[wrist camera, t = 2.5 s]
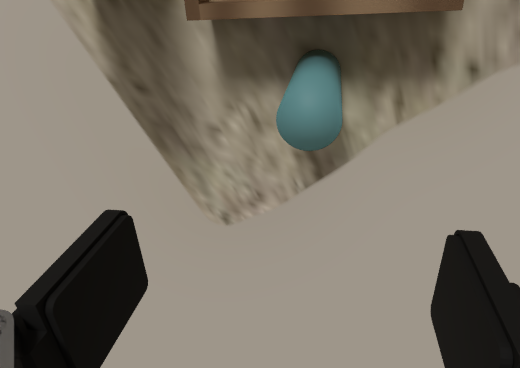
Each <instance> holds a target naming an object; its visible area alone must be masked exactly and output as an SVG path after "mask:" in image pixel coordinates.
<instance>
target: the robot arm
mask: <svg viewBox="0 0 520 368" xmlns="http://www.w3.org/2000/svg"><path fill="white" fill-rule="evenodd" d="M147 286H148V278H147V274H146V270H145V266H144V262H143V258H142V254H141V250H140V246H139V242H138V239H137V234H136V230H135V226H134V222H133V219H132V217H131V216H129V215H128V214H127V212H125V211H121V210H106V211H104V212H103V213H102V214H101V215H100V216H99V217H98V218H97V219H96V220H95V221H94V222H93V223H92V224H91V225H90V226H89V227H88V229H87V230H86V231H85V232H84V233H83V234H82V235H81V236H80V237H79V238H78V239H77V240H76V241H75V242H74V243H73V244H72V245H71V246H70V247H69V248H68V249H67V250H66V251H65V252H64V253H63V254H62V255H61V256H60V258H58V259H57V260H56V261H55V262H54V263H53V264H52V265H51V267H49V268H48V270H47V271H46V272H45V273H44V274H43V275H42V276H41V277H40V278H39V279H38V280H37V281H36V282H35V283H34V284H33V285H32V286H31V287H30V288H29V289H28V290H27V291H26V292H25V293H24V294H23V295H22V296H21V297H20V298H19V299H18V300H17V301H16V302H15V305H16V307H17V309H16V310H15V311H14V312H13V313H12V314H11V313H10V312H8V311H5V310H0V368H100V367H101V365H102V364H103V362H104V360H105V359H106V357H107V355H108V353H109V352H110V350H111V349H112V347H113V345H114V343H115V342H116V340H117V339H118V337H119V335H120V334H121V332H122V330H123V329H124V327H125V325H126V323H127V322H128V320H129V318H130V317H131V315H132V313H133V312H134V310H135V308H136V307H137V305H138V303H139V302H140V300H141V298H142V297H143V295H144V293H145V292H146V290H147ZM431 318H432V322H433V326H434V330H435V333H436V337H437V340H438V344H439V348H440V352H441V355H442V359H443V362H444V366H445V368H520V287H519V286H518V285H517V284H515V283H509V281H508V279H507V277H506V275H505V274H504V272H503V270H502V268H501V267H500V265H499V263H498V261H497V259H496V258H495V256H494V254H493V252H492V250H491V249H490V247H489V245H488V244H487V241H486V240H485V238H484V236H483V234H482V233H481V232H479V231H464V230H457V231H456V232H455V233H454V235H448V236H447V239H446V243H445V248H444V252H443V256H442V260H441V265H440V269H439V273H438V278H437V283H436V286H435V291H434V295H433V300H432V304H431Z"/></svg>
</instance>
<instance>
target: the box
mask: <svg viewBox="0 0 520 368" xmlns="http://www.w3.org/2000/svg"><path fill="white" fill-rule="evenodd" d="M184 1H185V9H186V16H187V21H188V20H214V19H240V18H267V17H293V16H320V15H346V14H372V13H399V12H425V11H451V10H462V8H463V3H464V0H184Z"/></svg>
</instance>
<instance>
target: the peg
mask: <svg viewBox="0 0 520 368" xmlns="http://www.w3.org/2000/svg"><path fill="white" fill-rule="evenodd" d="M276 122H277V128H278V131H279V133H280V135H281V136H282V138H283V139H284V140H285V141H286V142H287V143H288V144H289V145H291V146H293V147H295V148H297V149H300V150H304V151H314V150H319V149H322V148H324V147H326V146H328V145H329V144H331V143H332V142H333V141H334V140H335V139H336V137H337V136H338V134H339V132H340V130H341V126H342V96H341V70H340V65H339V62H338V60H337V59H336V58H335V56H334V55H332V54H331V53H329V52H327V51H324V50H313V51H310V52H308V53H306V54H305V55H304V56H303V57H302V58H301V59H300V60H299V62H298V64H297V66H296V68H295V71H294V73H293V76H292V78H291V80H290V83H289V85H288V87H287V90H286V92H285V94H284V97H283V99H282V101H281V104H280V106H279V108H278V111H277V117H276Z"/></svg>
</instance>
